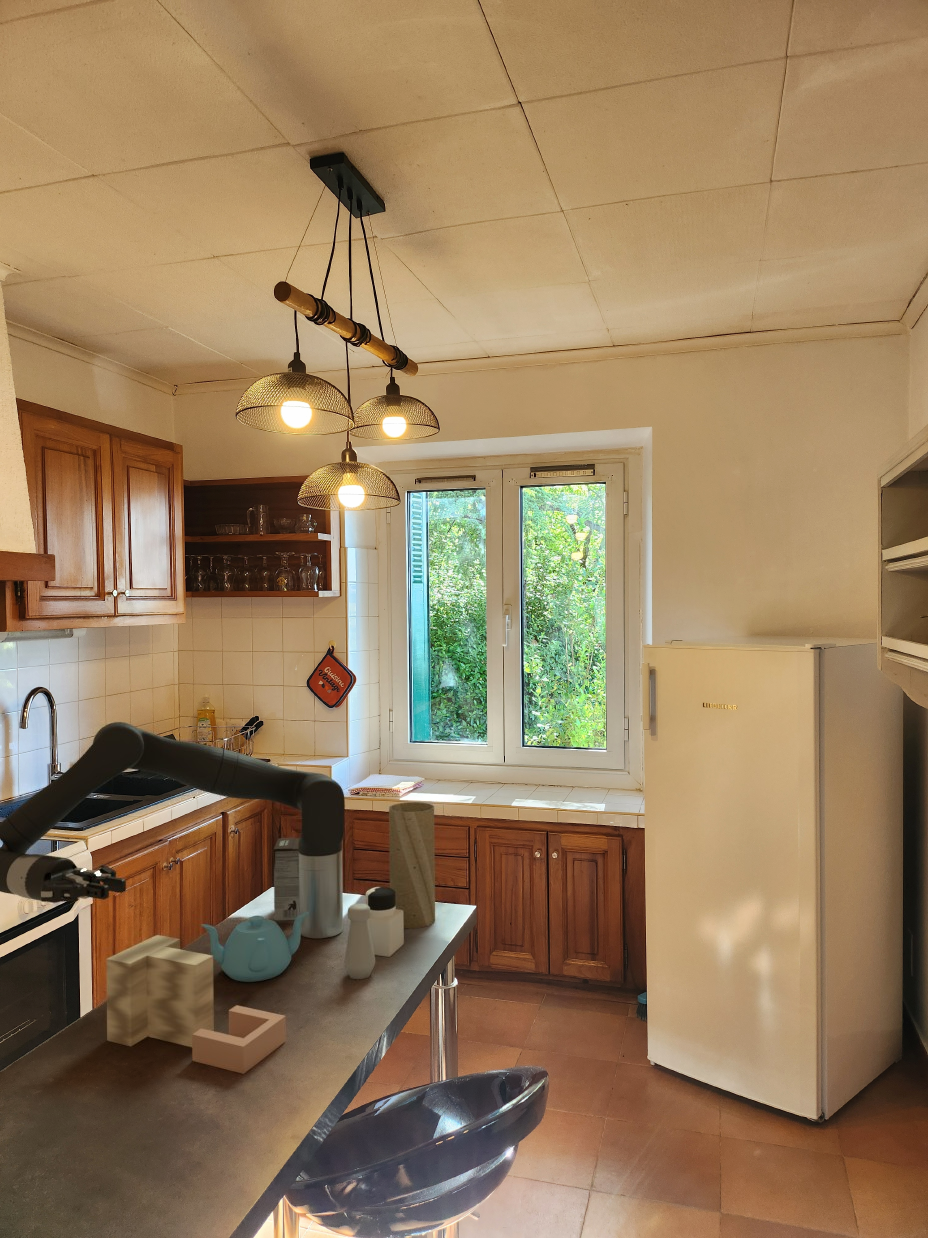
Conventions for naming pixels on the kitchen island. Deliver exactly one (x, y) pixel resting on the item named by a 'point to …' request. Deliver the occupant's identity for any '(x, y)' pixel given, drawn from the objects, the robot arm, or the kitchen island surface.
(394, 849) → the tube
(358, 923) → the salt shaker
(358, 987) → the kitchen island surface
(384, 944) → the medicine bottle
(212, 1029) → the t block
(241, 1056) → the frame
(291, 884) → the coffee box
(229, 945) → the teapot
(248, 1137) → the kitchen island surface
